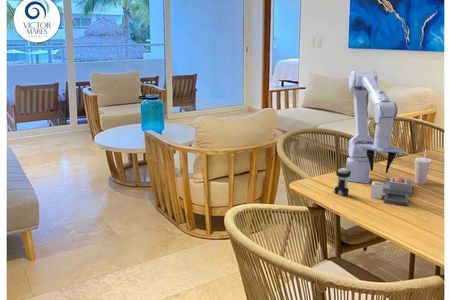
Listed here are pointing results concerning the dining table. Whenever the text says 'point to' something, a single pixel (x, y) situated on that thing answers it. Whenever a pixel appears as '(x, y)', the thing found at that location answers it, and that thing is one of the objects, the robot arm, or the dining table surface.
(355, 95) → the robot arm
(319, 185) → the dining table surface
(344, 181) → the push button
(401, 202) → the tray
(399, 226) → the dining table surface
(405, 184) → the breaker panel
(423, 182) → the smoothie
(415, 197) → the dining table surface
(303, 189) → the dining table surface
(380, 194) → the block
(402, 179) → the button
